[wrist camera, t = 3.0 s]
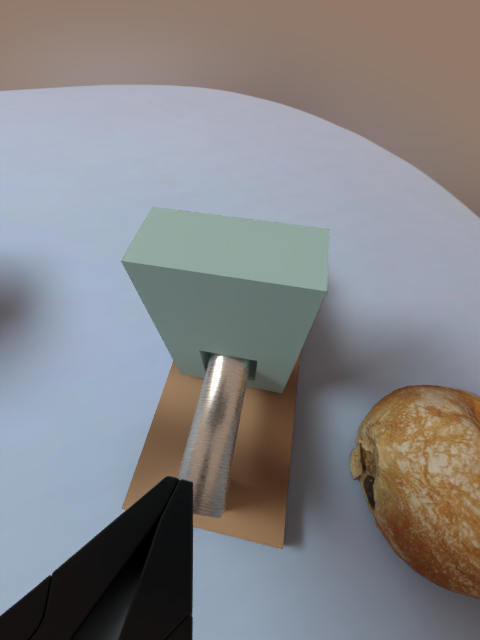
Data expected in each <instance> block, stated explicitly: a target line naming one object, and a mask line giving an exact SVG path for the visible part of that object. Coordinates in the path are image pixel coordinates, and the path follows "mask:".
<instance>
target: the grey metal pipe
mask: <svg viewBox="0 0 480 640" xmlns="http://www.w3.org/2000/svg"><path fill="white" fill-rule="evenodd" d="M250 363H251V360H250V359H244V358H238V357H233V356H227V355H222V354H216V353H211V356H210V360H209V363H208V367H207V371H206V374H205V378H204V382H203V385H202V389H201V393H200V396H199V400H198V403H197V407H196V411H195V414H194V418H193V422H192V425H191V429H190V433H189V436H188V440H187V443H186V447H185V451H184V454H183V458H182V462H181V465H180V469H179V473H178V476H177V478H179V479H180V480H181V479H185V480H189V481H192V482H193V514H197V515H202V516H207V517H214V518H221V517H222V516H223V514H224V513H225V511H226V506H227V500H228V495H229V489H230V484H231V480H230V479H229V476H230V470H231V465H232V460H233V454H234V449H235V444H236V438H237V433H238V427H239V422H240V417H241V411H242V406H243V401H244V395H245V390H246V385H247V379H248V374H249V369H250Z"/></svg>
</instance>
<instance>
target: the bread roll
mask: <svg viewBox="0 0 480 640" xmlns="http://www.w3.org/2000/svg"><path fill="white" fill-rule="evenodd" d="M355 442H356V444H357V447H356V448H355V449H353V450H352V452H351V454H350V469H351V472H352V475H353V478H354V479H359V481H360V483H361V487H362V491H363V493H364V496H365V498H366V501H367V503H368V506H369V509H370V511H371V513H372V514H373V516H374V518H375V521H376V525H377V527H378V528H379V529H380V530H381V532H382V533H383V535H384V537H385V538H386V540H387V541H388V543H389V544H390V546H391V547H392V549H393V550H394V551H395V553H396V554H397V555H398V556H399V557H400V558H401V559H402V560H404V561H405V562H406V563H407V564H408V565H409V566H410V567H411V568H413V569H414V570H415V571H417V572H418V573H419V574H421V575H422V576H424V577H425V578H427V579H428V580H430V581H431V582H433V583H435V584H437V585H439V586H441V587H443V588H445V589H448V590H450V591H453V592H456V593H460V594H464V595H467V596H470V597H474V598H477V599H480V398H479V397H477V396H475V395H473V394H471V393H468V392H465V391H462V390H459V389H456V390H455V389H451V388H445V387H440V386H432V385H418V386H406V387H403V388H399V389H397V390H395V391H393V392H392V393H390V394H388V395H387V396H385V397H384V398H383V399H381V400H380V401H379V402H378V403H377V404H375V405H374V406H373V408H372V409H371V411H370V412H369V413H368V415H367V416H366V417H365V419H364V420H363V421H362V423H361V425H360V426H359V430H358V436H357V439H356V441H355Z"/></svg>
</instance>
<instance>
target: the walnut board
mask: <svg viewBox="0 0 480 640" xmlns="http://www.w3.org/2000/svg"><path fill="white" fill-rule="evenodd" d="M299 355H300V354H299ZM298 367H299V356H298V358H297V361H296V363H295V365H294V367H293V370H292V372H291V374H290V377H289V379H288V381H287V383H286V386H285V388H284V390H283V392H282V393H277V392H272V391H266V390H261V389H256V388H251V387H246V390H245V395H244V401H243V406H242V411H241V417H240V422H239V427H238V433H237V438H236V444H235V449H234V454H233V460H232V465H231V470H230V476H229V479H230V480H231V484H230V489H229V495H228V500H227V506H226V511H225V513H224V514H223V516H222V517H221V518H214V517H207V516H202V515H197V514H193V527H196V528H200V529H204V530H208V531H212V532H216V533H220V534H224V535H228V536H232V537H236V538H240V539H244V540H248V541H252V542H256V543H260V544H264V545H268V546H272V547H276V548H280V549H283V541H284V529H285V518H286V506H287V495H288V483H289V471H290V460H291V448H292V437H293V425H294V413H295V402H296V390H297V379H298ZM203 382H204V379H203V378H198V377H193V376H188V375H182V374H181V373H180V371H179V369H178V368H177V366H176V364H175V362H174V361H173V364H172V367H171V370H170V372H169V375H168V378H167V381H166V384H165V387H164V390H163V392H162V395H161V398H160V401H159V404H158V407H157V410H156V412H155V415H154V418H153V421H152V424H151V427H150V430H149V432H148V435H147V438H146V441H145V444H144V447H143V450H142V452H141V455H140V458H139V461H138V464H137V467H136V470H135V472H134V475H133V478H132V481H131V484H130V487H129V490H128V492H127V495H126V498H125V501H124V504H123V507H122V509H124V510H127V509H128V508H129V507H131V506H132V505H133V504H134V503H135V502H136V501H138V500H139V499H140V498H141V497H142V496H143V495H145V494H146V493H147V492H148V491H149V490H151V489H152V488H153V487H154V486H155V485H156V484H158V483H159V482H160V481H161V480H162V479H163V478H165V477H166V476H172V477H176V478H177V476H178V473H179V469H180V465H181V462H182V458H183V454H184V451H185V447H186V443H187V440H188V436H189V433H190V429H191V425H192V422H193V418H194V414H195V411H196V407H197V403H198V400H199V396H200V393H201V389H202V385H203Z"/></svg>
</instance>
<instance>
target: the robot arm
mask: <svg viewBox="0 0 480 640" xmlns="http://www.w3.org/2000/svg"><path fill="white" fill-rule="evenodd" d="M192 601H193V482H192V481H189V480H185V479H181V480H180V479H179V478H176V477H172V476H166V477H165V478H163V479H162V480H161V481H160V482H159V483H158V484H156V485H155V486H154V487H153V488H152V489H151V490H149V491H148V492H147V493H146V494H145V495H143V496H142V497H141V498H140V499H139V500H138V501H136V502H135V503H134V504H133V505H132V506H131V507H129V508H128V509H127V510H126V511H125V512H123V513H122V514H121V515H120V516H119V517H118V518H116V519H115V520H114V521H113V522H112V523H111V524H109V525H108V526H107V527H106V528H105V529H103V530H102V531H101V532H100V533H99V534H98V535H96V536H95V537H94V538H93V539H92V540H91V541H89V542H88V543H87V544H86V545H85V546H83V547H82V548H81V549H80V550H79V551H78V552H76V553H75V554H74V555H73V556H72V557H71V558H69V559H68V560H67V561H66V562H65V563H63V564H62V565H61V566H60V567H59V568H58V569H56V570H55V571H54V572H53V574H52V576H51V575H49V576H48V577H47V578H46V579H44V580H43V581H42V582H41V583H40V584H39V585H37V586H36V587H35V588H34V589H33V590H31V591H30V592H29V593H28V594H27V595H25V596H24V597H23V598H22V599H20V600H19V601H18V602H17V603H16V604H14V605H13V606H12V607H11V608H9V609H8V610H7V611H6V612H5V613H3V614H2V615H1V616H0V640H192V626H193V618H192Z"/></svg>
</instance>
